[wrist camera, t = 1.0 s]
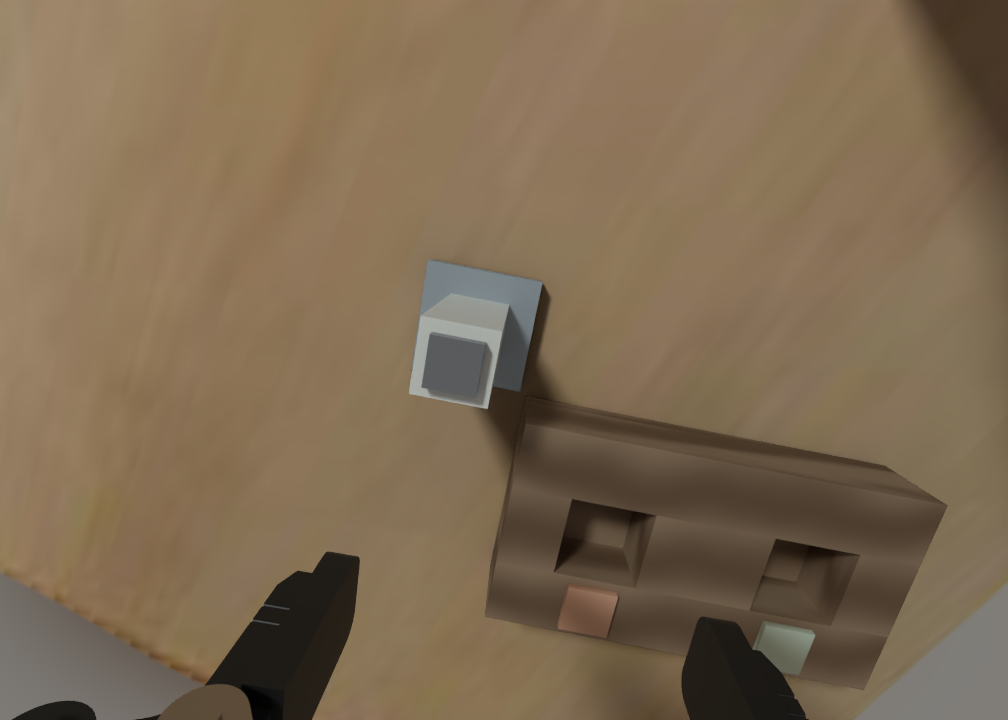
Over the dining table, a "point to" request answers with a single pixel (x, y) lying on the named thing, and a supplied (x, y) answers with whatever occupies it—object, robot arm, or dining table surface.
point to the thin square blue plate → (497, 289)
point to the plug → (459, 350)
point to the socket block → (705, 540)
